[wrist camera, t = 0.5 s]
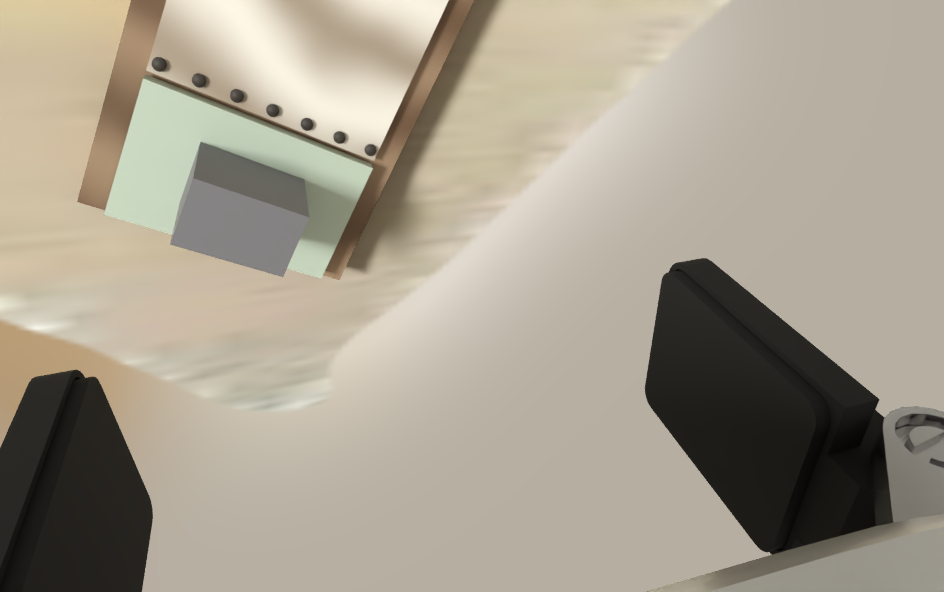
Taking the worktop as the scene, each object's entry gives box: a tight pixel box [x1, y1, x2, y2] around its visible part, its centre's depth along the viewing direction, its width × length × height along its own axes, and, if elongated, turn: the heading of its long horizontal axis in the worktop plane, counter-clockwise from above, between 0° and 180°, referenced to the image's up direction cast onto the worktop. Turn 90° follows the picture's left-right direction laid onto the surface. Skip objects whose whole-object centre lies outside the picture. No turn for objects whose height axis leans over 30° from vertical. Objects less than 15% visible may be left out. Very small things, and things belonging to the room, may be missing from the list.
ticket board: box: [77, 0, 474, 280], centre depth 37 cm, size 24×16×3 cm, turn 151°
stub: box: [104, 74, 373, 279], centre depth 37 cm, size 8×13×6 cm, turn 61°
